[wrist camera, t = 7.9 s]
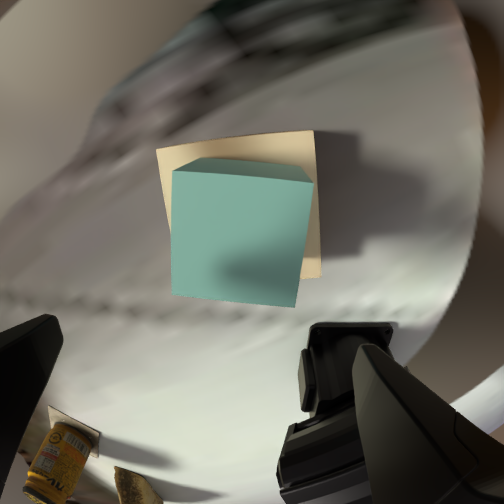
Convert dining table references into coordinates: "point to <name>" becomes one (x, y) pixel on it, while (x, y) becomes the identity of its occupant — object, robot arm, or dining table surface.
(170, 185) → the beech block
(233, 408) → the dining table surface
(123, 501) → the rock
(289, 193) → the teal cube
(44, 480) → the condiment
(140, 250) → the dining table surface
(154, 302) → the dining table surface
